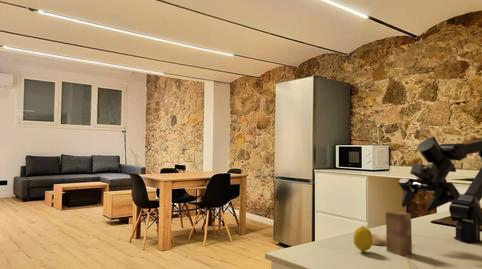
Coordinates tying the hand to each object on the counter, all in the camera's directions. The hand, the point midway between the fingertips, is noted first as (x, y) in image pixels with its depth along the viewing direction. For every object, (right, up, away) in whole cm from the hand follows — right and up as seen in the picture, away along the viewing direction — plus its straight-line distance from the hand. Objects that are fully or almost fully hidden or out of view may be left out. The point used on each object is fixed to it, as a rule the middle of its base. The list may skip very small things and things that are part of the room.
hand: (414, 208), depth 112 cm
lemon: (-18, -13, -3) cm, 22 cm away
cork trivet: (-9, -13, +9) cm, 18 cm away
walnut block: (-7, -13, -3) cm, 15 cm away
